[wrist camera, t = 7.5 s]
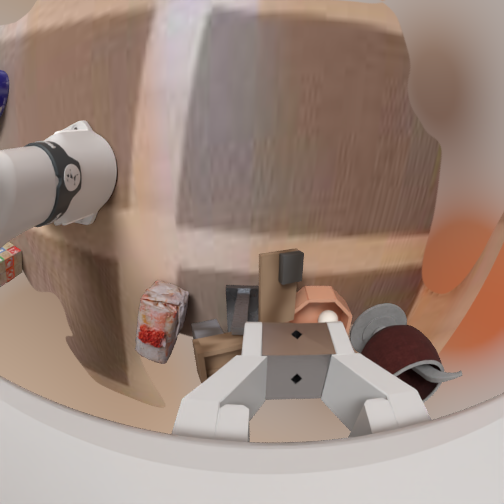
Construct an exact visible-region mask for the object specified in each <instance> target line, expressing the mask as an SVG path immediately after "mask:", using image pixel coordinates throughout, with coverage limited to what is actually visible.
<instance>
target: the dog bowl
mask: <svg viewBox="0 0 504 504" xmlns="http://www.w3.org/2000/svg"><path fill="white" fill-rule="evenodd" d="M8 92H9V79H8V75H7V73H6V72H5V71H2V70H0V117H1V115H2V113H3V111H4V108H5V105H6V102H7V98H8Z"/></svg>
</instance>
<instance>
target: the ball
mask: <svg viewBox="0 0 504 504" xmlns="http://www.w3.org/2000/svg"><path fill="white" fill-rule="evenodd" d="M334 321H338V316H337V314H336V313H335V312H333V311H331V310H325V311H323V312H322V313H321V314H320V315H319V317H318V323H322V322H334Z"/></svg>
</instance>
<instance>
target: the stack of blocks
mask: <svg viewBox="0 0 504 504" xmlns="http://www.w3.org/2000/svg"><path fill="white" fill-rule="evenodd" d="M20 273H22V251H21V250H20V249H18V248H17V247H15V246H14V245H12V244H11V243H9V242H7V243H6V244H5V245H4V246H3V247H2V248H1V249H0V287H1V286H3V285H4V284H5V283H7V282H9V281H10V280H12V279H13V278H14V277H16V276H17V275H19V274H20Z"/></svg>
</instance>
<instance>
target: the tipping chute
mask: <svg viewBox="0 0 504 504" xmlns="http://www.w3.org/2000/svg"><path fill="white" fill-rule="evenodd" d="M303 259H304V253H303V252H301V251H299V250H298V249H289V250H283V251H276V252H269V253H262V254H259V307H258V322H262V323H263V322H275V323H285V322H288V321H292V320H294V313H295V301H296V289H297V282H299V281H302V273H303ZM191 325H192V332H193V347H194V354H195V360H196V366H197V371H198V375H199V378H200V380H201V383H203V382H204V381H205V380H207V379H208V378H209V377H210V376H212V375H213V374H214V373H215V372H217V371H218V370H219V369H220V368H222V367H223V366H224V365H225V364H226V363H228V362H229V361H230V360H231V359H232V358H234V357H235V356H236V355H241V353H242V345H243V336H244V335H232V332H228V333H223V331H222V329H221V327H220V326H219V324H218V322H217V320H216V319H214V320H209V321H204V322H198V323H193V324H191Z"/></svg>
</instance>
